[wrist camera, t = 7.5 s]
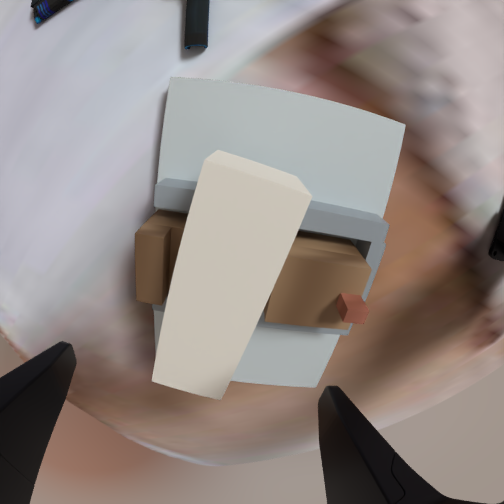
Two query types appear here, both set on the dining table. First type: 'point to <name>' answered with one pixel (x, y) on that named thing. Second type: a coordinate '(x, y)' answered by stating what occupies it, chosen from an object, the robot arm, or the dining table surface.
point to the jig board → (293, 162)
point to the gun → (196, 27)
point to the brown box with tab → (288, 282)
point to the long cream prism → (226, 270)
